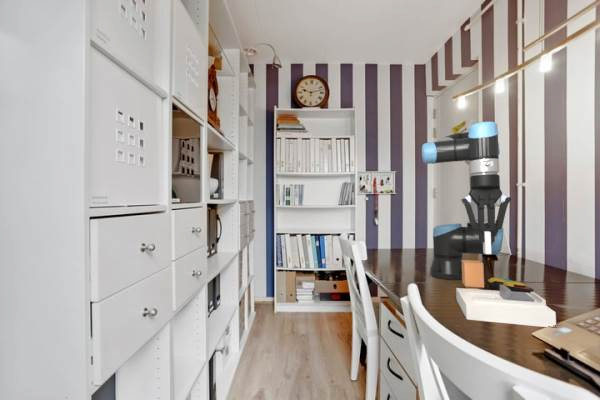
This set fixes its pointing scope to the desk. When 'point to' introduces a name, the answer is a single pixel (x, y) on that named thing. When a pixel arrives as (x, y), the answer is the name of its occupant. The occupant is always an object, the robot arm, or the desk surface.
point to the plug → (472, 274)
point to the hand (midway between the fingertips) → (487, 253)
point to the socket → (504, 308)
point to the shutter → (514, 295)
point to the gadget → (508, 285)
